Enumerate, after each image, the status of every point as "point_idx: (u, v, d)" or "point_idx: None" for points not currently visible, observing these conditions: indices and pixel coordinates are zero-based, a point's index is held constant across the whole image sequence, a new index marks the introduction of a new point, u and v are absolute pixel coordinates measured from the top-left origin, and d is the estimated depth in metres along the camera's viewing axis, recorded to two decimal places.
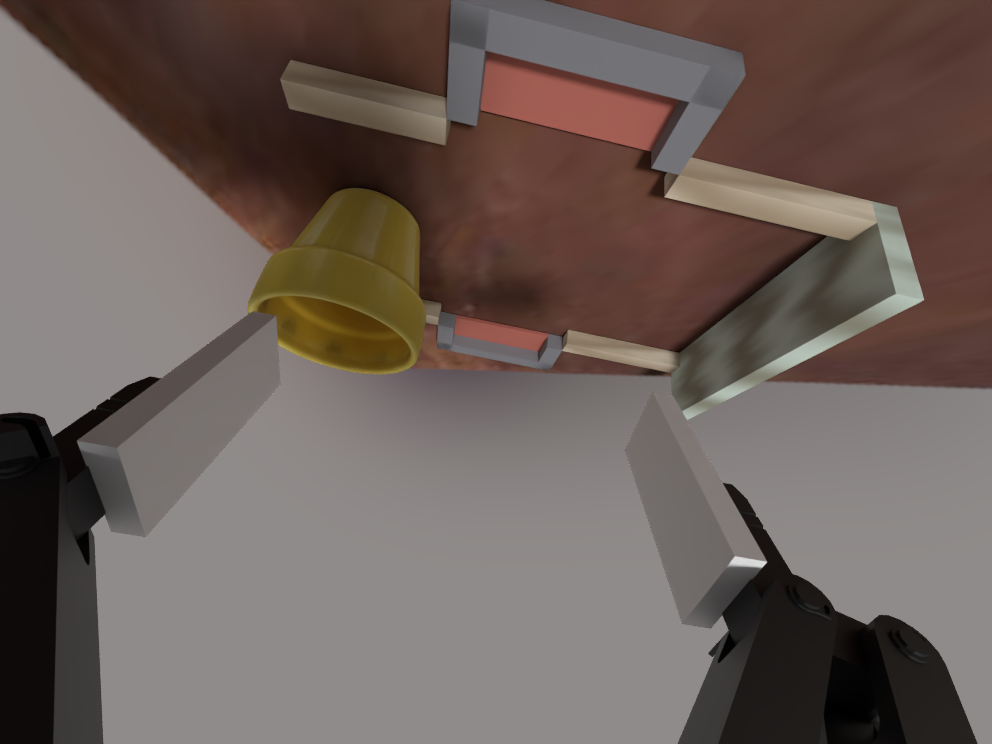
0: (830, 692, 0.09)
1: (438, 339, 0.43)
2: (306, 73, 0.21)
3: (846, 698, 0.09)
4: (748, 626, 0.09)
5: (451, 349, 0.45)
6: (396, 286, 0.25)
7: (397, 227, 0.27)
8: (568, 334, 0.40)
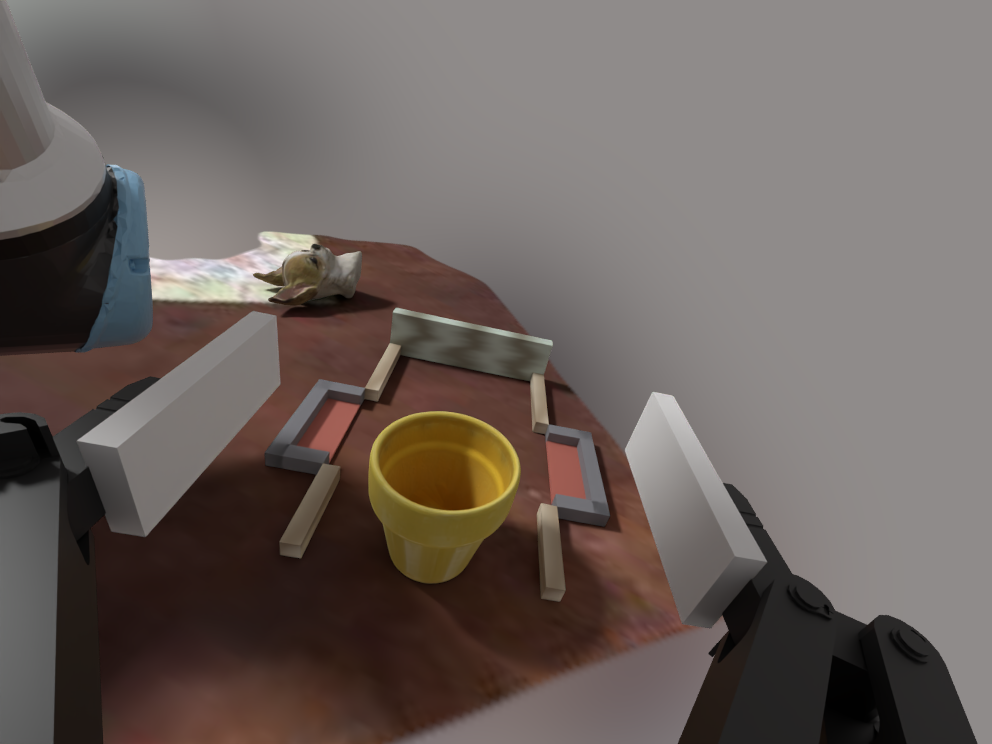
0: (830, 692, 0.09)
1: (588, 511, 0.39)
2: None
3: (846, 698, 0.09)
4: (748, 626, 0.09)
5: (603, 502, 0.40)
6: None
7: None
8: (533, 428, 0.50)
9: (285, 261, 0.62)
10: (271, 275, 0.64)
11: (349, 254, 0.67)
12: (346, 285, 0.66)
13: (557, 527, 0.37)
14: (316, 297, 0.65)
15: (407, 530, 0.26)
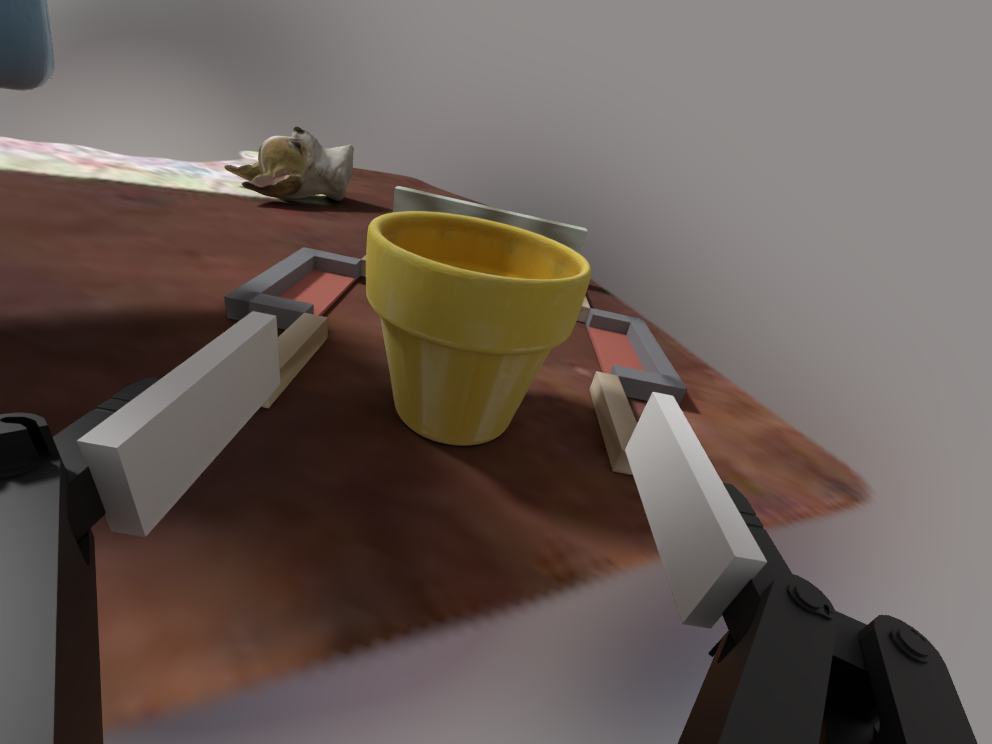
0: (830, 692, 0.09)
1: (658, 382, 0.29)
2: None
3: (845, 698, 0.09)
4: (748, 626, 0.09)
5: (675, 377, 0.31)
6: None
7: None
8: None
9: (262, 145, 0.52)
10: (246, 167, 0.54)
11: (338, 147, 0.58)
12: (335, 181, 0.56)
13: (623, 394, 0.27)
14: (300, 193, 0.55)
15: (428, 317, 0.17)
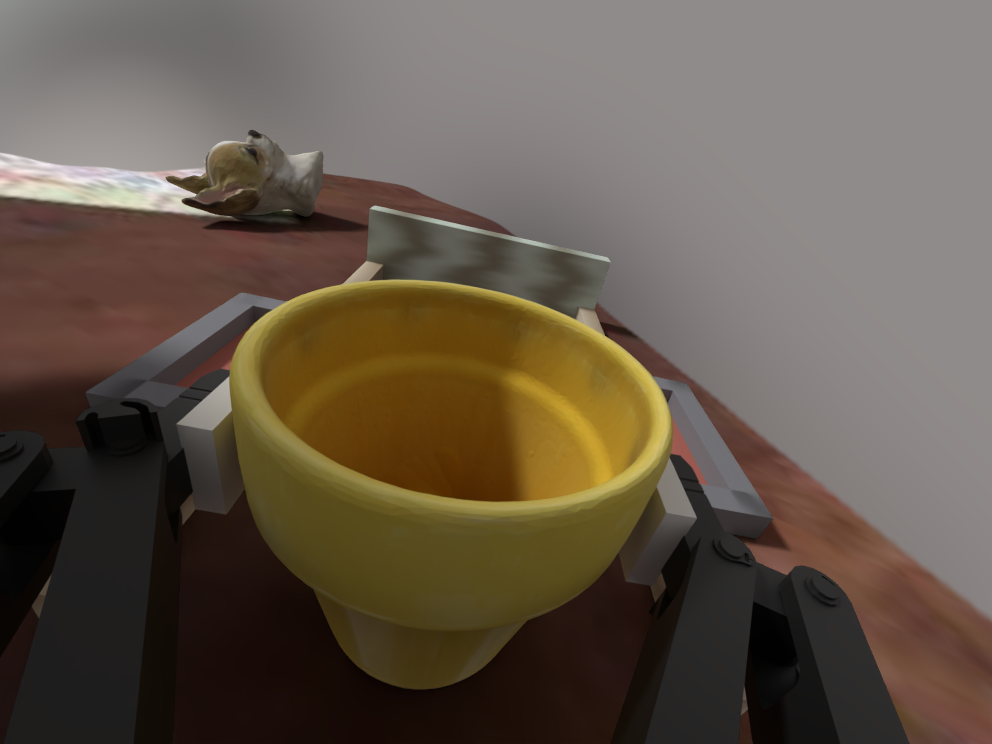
0: (752, 636, 0.10)
1: (731, 509, 0.20)
2: None
3: (766, 642, 0.10)
4: (681, 582, 0.10)
5: (750, 493, 0.22)
6: None
7: None
8: None
9: (209, 153, 0.43)
10: (192, 178, 0.45)
11: (305, 153, 0.49)
12: (301, 194, 0.47)
13: None
14: (259, 209, 0.46)
15: (337, 574, 0.07)
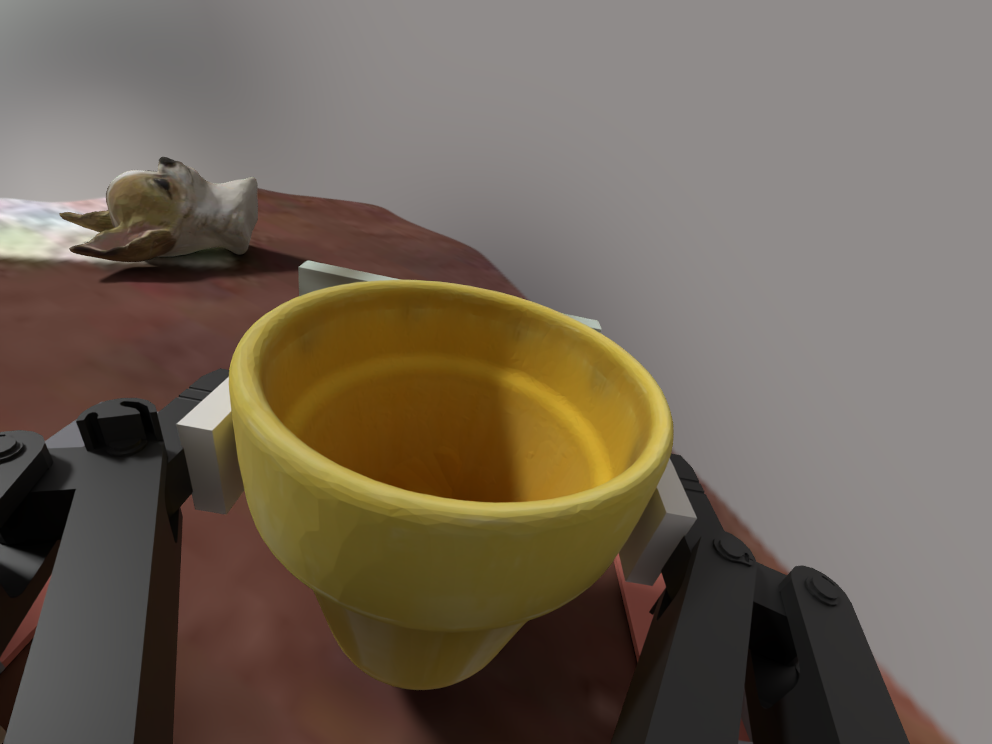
0: (751, 636, 0.10)
1: None
2: None
3: (766, 643, 0.10)
4: (681, 582, 0.10)
5: None
6: None
7: None
8: None
9: (109, 186, 0.36)
10: (92, 215, 0.38)
11: (234, 181, 0.41)
12: (229, 231, 0.40)
13: None
14: (177, 250, 0.39)
15: (337, 575, 0.07)
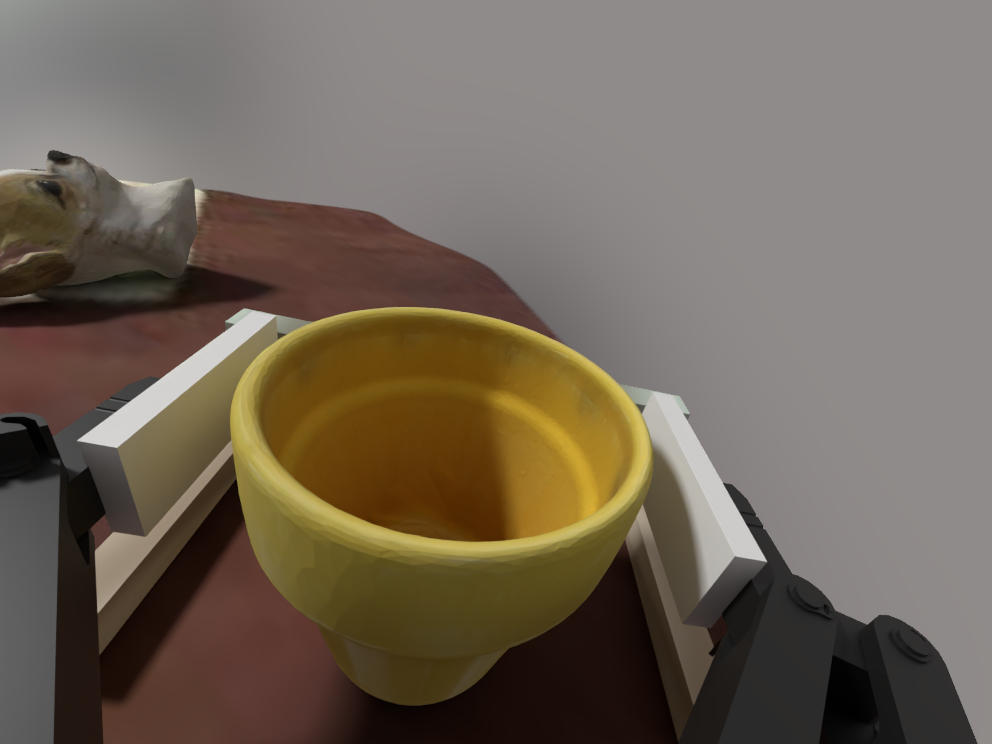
0: (830, 691, 0.09)
1: None
2: None
3: (846, 699, 0.09)
4: (748, 626, 0.09)
5: None
6: None
7: None
8: None
9: None
10: None
11: (163, 183, 0.31)
12: (154, 249, 0.30)
13: None
14: (81, 277, 0.29)
15: (332, 607, 0.08)
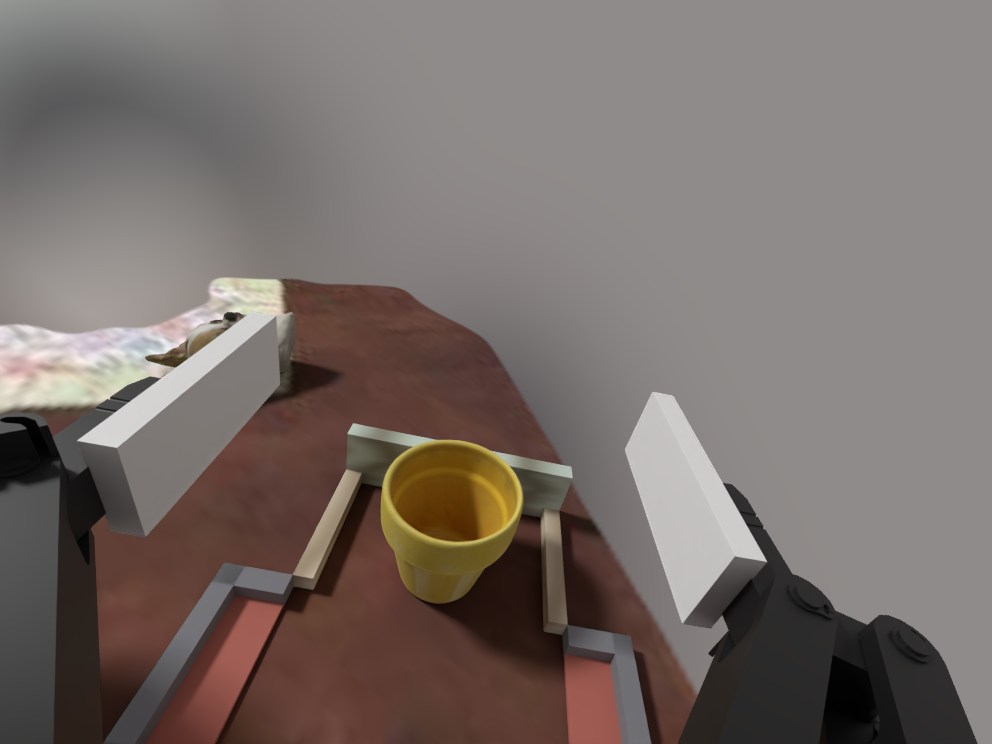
0: (830, 691, 0.09)
1: None
2: None
3: (846, 699, 0.09)
4: (748, 626, 0.09)
5: None
6: None
7: None
8: (545, 627, 0.33)
9: (188, 341, 0.46)
10: (171, 357, 0.48)
11: (277, 317, 0.52)
12: None
13: None
14: None
15: (417, 559, 0.28)
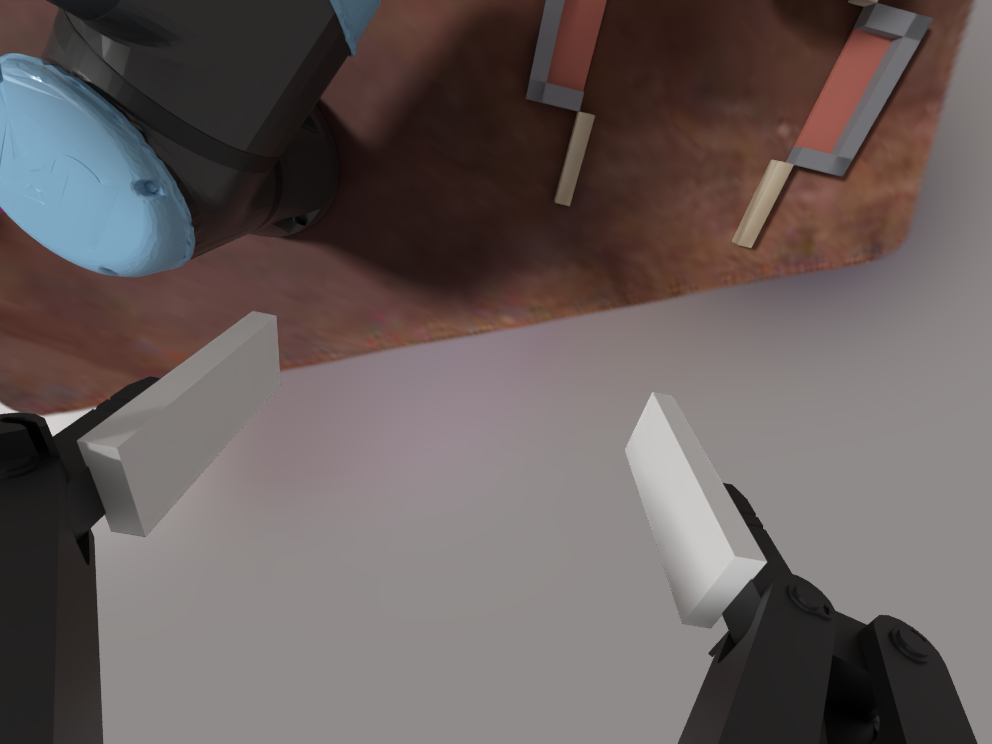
0: (830, 691, 0.09)
1: (823, 170, 0.41)
2: (557, 191, 0.43)
3: (846, 699, 0.09)
4: (748, 626, 0.09)
5: (848, 158, 0.40)
6: None
7: None
8: None
9: None
10: None
11: None
12: None
13: (778, 190, 0.42)
14: None
15: None
